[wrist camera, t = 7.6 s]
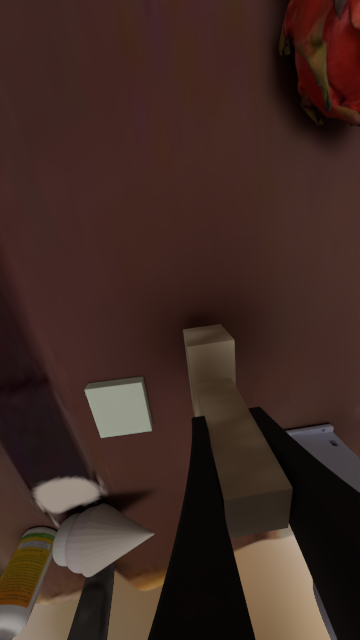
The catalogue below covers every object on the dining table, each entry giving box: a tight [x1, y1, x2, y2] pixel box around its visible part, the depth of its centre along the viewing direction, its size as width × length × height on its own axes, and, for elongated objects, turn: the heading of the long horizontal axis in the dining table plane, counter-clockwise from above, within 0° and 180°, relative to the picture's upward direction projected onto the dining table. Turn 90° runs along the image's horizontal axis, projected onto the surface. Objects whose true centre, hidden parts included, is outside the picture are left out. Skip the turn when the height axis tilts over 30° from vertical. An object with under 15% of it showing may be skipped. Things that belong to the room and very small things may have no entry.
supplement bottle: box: [0, 527, 57, 640], centre depth 22 cm, size 5×5×10 cm
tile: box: [85, 376, 153, 438], centre depth 20 cm, size 2×7×6 cm
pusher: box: [183, 324, 293, 538], centre depth 10 cm, size 3×8×9 cm, turn 7°
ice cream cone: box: [52, 503, 155, 577], centre depth 23 cm, size 6×6×15 cm
